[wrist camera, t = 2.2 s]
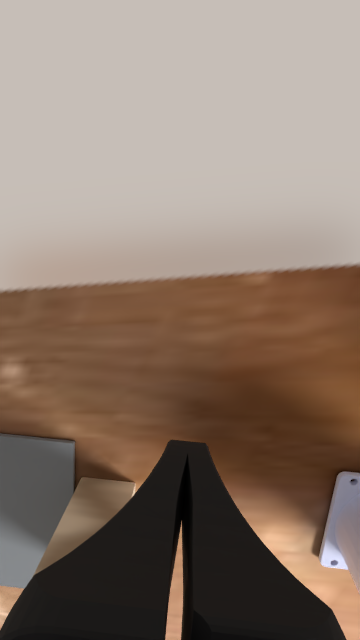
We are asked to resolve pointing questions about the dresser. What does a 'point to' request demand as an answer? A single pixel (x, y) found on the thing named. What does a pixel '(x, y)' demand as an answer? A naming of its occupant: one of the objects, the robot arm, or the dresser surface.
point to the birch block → (86, 515)
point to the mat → (31, 501)
